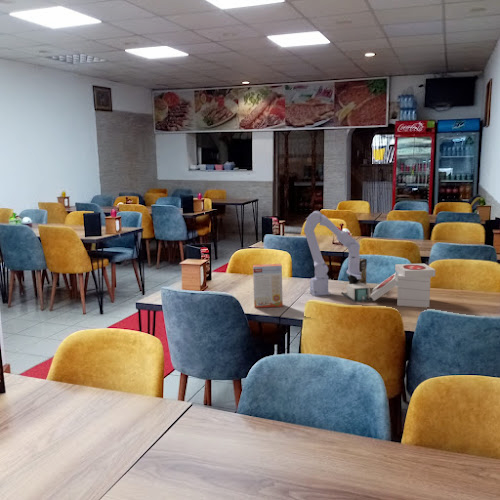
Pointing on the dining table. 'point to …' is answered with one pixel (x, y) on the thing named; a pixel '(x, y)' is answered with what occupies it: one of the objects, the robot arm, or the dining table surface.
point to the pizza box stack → (408, 285)
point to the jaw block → (360, 293)
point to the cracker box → (267, 285)
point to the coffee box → (362, 270)
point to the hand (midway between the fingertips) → (353, 289)
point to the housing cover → (352, 288)
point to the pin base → (357, 299)
